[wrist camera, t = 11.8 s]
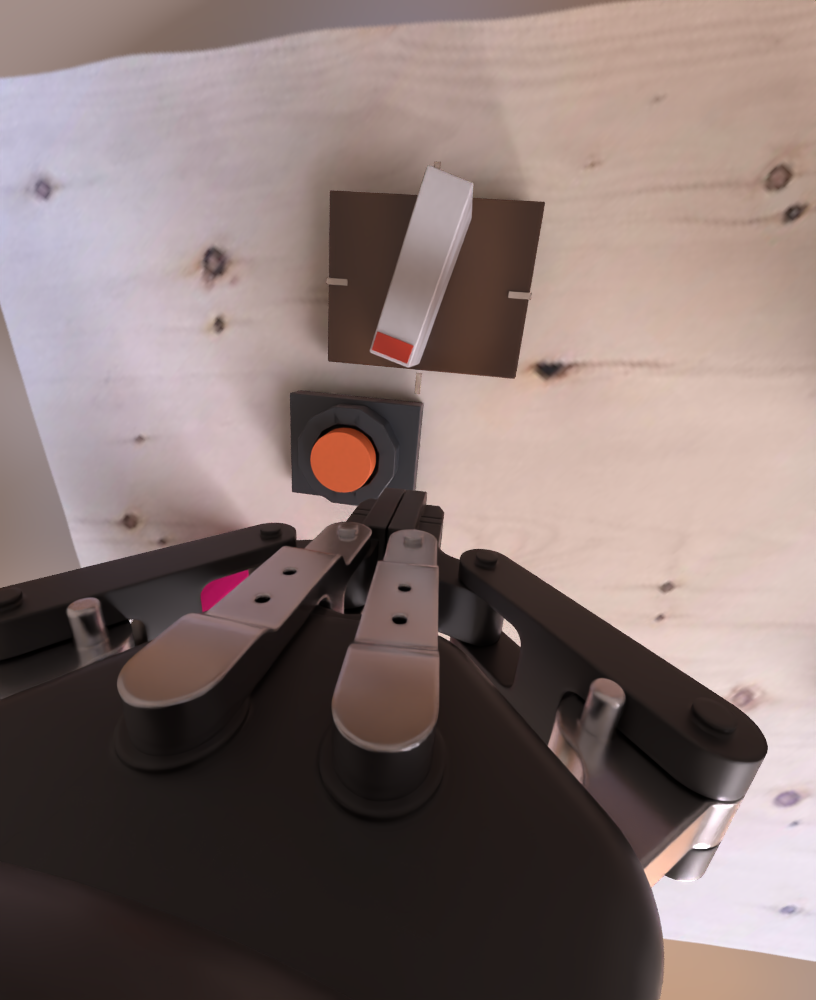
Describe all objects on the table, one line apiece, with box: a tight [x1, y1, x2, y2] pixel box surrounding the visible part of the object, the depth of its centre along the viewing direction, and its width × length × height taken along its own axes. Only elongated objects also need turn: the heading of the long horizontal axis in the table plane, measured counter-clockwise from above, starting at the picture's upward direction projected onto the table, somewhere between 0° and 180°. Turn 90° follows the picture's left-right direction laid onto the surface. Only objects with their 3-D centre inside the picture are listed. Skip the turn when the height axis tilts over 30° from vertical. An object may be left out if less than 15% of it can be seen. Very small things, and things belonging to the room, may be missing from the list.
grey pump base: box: [290, 391, 423, 506], centre depth 32 cm, size 10×8×4 cm
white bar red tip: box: [370, 165, 473, 367], centre depth 24 cm, size 9×2×6 cm, turn 160°
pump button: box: [310, 427, 376, 492], centre depth 29 cm, size 4×4×2 cm
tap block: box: [326, 162, 545, 394], centre depth 28 cm, size 13×13×3 cm
